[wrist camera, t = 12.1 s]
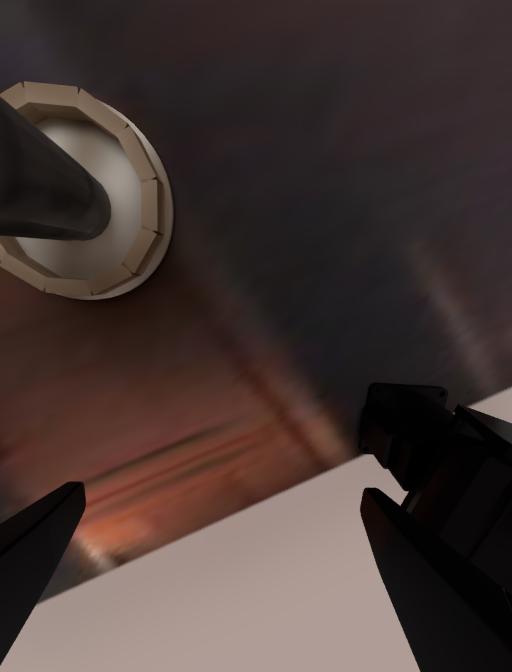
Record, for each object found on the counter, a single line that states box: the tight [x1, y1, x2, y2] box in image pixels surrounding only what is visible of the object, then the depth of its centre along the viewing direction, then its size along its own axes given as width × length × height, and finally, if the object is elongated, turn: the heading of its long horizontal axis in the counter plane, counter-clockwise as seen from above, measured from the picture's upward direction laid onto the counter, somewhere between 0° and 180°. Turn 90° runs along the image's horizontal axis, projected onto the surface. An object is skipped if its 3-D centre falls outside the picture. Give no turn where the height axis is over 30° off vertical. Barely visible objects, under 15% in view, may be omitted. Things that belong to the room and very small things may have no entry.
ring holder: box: [0, 81, 174, 300], centre depth 17 cm, size 13×13×2 cm
